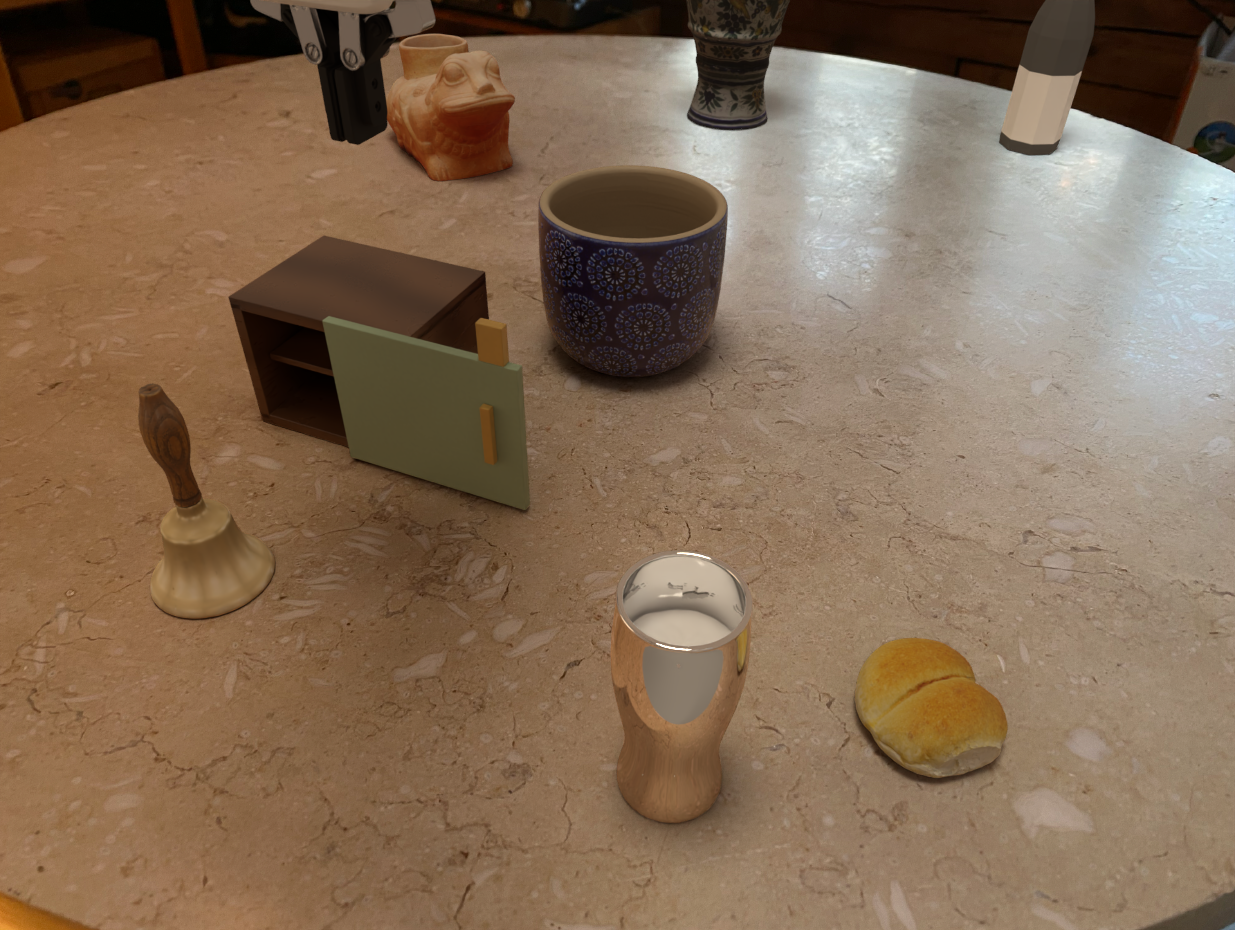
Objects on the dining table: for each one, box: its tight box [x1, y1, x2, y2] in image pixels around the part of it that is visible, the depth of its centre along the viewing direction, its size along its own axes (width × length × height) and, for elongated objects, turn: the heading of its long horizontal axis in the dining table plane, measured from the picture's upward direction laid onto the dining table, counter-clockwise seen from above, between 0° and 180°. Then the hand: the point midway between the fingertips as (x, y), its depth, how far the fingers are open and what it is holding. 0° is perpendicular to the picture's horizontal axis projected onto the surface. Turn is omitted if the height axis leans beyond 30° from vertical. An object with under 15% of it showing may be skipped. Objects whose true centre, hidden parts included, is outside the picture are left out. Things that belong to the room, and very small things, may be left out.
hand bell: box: [137, 383, 276, 620], centre depth 61 cm, size 8×8×16 cm
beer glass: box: [609, 549, 754, 824], centre depth 49 cm, size 7×7×15 cm
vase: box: [685, 0, 791, 131], centre depth 133 cm, size 17×17×30 cm
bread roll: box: [854, 637, 1009, 779], centre depth 56 cm, size 8×9×4 cm
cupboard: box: [227, 235, 490, 448], centre depth 78 cm, size 12×16×12 cm
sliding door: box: [322, 316, 531, 511], centre depth 69 cm, size 1×16×16 cm, turn 67°
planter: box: [537, 164, 729, 378], centre depth 86 cm, size 17×16×15 cm
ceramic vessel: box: [385, 33, 516, 182], centre depth 124 cm, size 14×26×15 cm, turn 30°
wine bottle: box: [998, 0, 1096, 156], centre depth 125 cm, size 8×8×30 cm
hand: (360, 134), depth 53 cm, fingers closed
